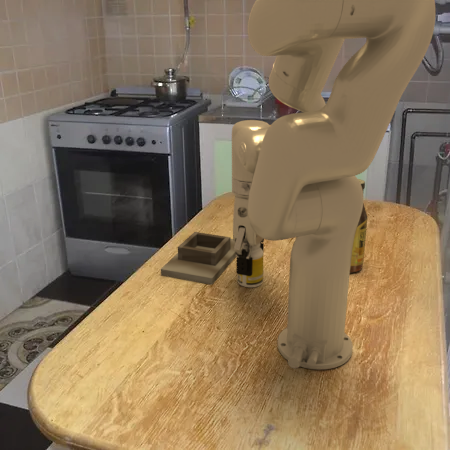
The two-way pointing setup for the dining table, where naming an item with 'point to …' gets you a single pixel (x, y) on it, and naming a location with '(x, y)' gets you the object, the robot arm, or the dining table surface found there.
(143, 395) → the dining table surface
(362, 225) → the sauce bottle
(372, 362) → the dining table surface
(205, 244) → the collar board
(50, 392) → the dining table surface
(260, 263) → the supplement bottle
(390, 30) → the robot arm
